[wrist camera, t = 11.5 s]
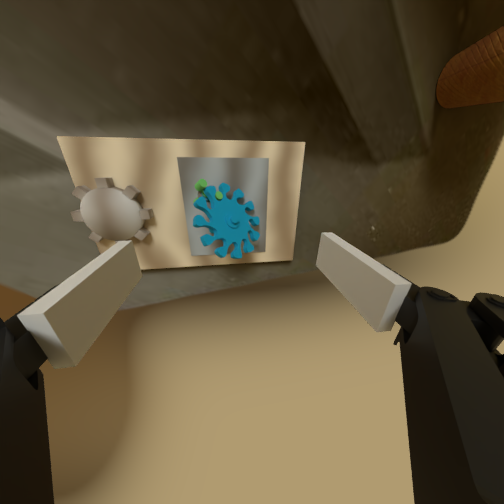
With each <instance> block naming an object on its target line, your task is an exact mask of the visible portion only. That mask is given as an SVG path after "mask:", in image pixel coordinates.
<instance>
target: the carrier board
mask: <svg viewBox="0 0 504 504" xmlns="http://www.w3.org/2000/svg"><path fill="white" fill-rule="evenodd" d="M57 139H58V142H59V144H60V147H61V150H62V152H63V155H64V158H65V160H66V163H67V166H68V169H69V171H70V174H71V177H72V179H73V182H74V185H75V187H76V188H75V189H74V191H73V192H72V194H73V195H74V196H76V197H77V198H79V199H80V201H81V205H80V210H76V211H73V212H71V215H72V217H73V220H74V222H76V221H84V222H85V223H86V225H87V226H88V227H89V228H90V229H91V230H92V233H91V235H90V236H89V237H88V238H90V239H92V240H93V241H95V242H96V244H97V246H98V249H99V252H100V255H101V254H102V253H104V252H105V251H106V250H108V249H109V248H110V247H112V246H113V245H115V244H116V243H117V242H119V241H130V240H132V242H133V245H134V248H135V252H136V255H137V259H138V262H139V266H140V269H141V270H142V269H158V268H174V267H190V266H206V265H222V264H238V263H254V262H270V261H286V260H293V251H294V242H295V232H296V223H297V214H298V204H299V195H300V186H301V176H302V167H303V158H304V149H305V142H279V141H236V140H194V139H151V138H109V137H66V136H57ZM200 179H204V180H206V182H207V186H215V188H216V192H217V191H219V189H218V187H219V185H220V184H221V183H226V184H228V185H229V186H230V191H228V192H227V193H226V197H227V198H228V199H229V200H231V199H232V197H233V192H234V191H235V190H237V189H238V188H239V189H240V190H241V191H242V192H243V193H244V197H242V198H241V199H239V200H237V202H238V204H240V205H244V204H245V203H247V202H249V201H252V202H253V205H254V209H253V210H251V211H246V210H245V212H246V213H247V214H248V215H250V216H252V217H255V216H258V217H259V220H260V222H259V225H257V226H252V225H251V223H250V222H249V224H250V226H251V227H252V229H253V230H255V231H257V232H259V234H260V237H259V239H258V240H257V241H252V240H251V239H250V235H249V233H248V238H249V241H250V243H251V244H252V245H253V246H254V250H253V251H252V252H248V253H244V251H243V246H244V242H243V241H242V242H241V252H242V258H240V259H233V258H231V256H230V254H231V252H232V251H233V250H234V248H235V247H234V244H231V245H230V246H229V247H228V250H227V255H226V256H225V257H223V258H220V257H218V256H217V255H216V254H215V253H214V251H215V249H216V248H219V247H223V241H222V240H214V241H213V243H212V244H211V245H208V246H203V244H202V242H201V239H200V237H201V236H203V235H205V234H209V235H211V236H214V233H210V231H209V228H206V227H199V228H196V227H194V226H193V219H194V217H195V216H196V215H201V216H203V217H204V219H205V220H206V221H207V222H209V218H208V217H207V215H206V214H205V213H204V212H203V211H201V210H199V209H197V208H195V207H194V205H193V204H194V203H193V201H194V200H195V199H196V198H197V197H198V195H197V194H198V191H197V190H196V189H195V184H196V183H197V182H198V181H199V180H200ZM207 186H206V187H207ZM206 187H205V188H206Z"/></svg>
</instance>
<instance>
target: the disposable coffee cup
mask: <svg viewBox="0 0 504 504" xmlns="http://www.w3.org/2000/svg"><path fill="white" fill-rule="evenodd" d="M436 96H437V100H438V102H439V104H440V105H441V106H442V107H444V108H448V109H449V108H457V107H464V106H472V105H480V104H488V103H496V102H503V101H504V26H502V27H500V28H499V29H497V30H496V31H494V32H492V33H490V34H489V35H487V36H486V37H484V38H482V39H481V40H479V41H477V42H476V43H474V44H473V45H471V46H469V47H468V48H466V49H464V50H463V51H461V52H459V53H458V54H456V55H455V56H454V57H452V58H451V59H450V60H449V61H448V63H447V64H446V66H445V67H444V68H443V70H442V72H441V74H440V77H439V79H438V83H437V88H436Z"/></svg>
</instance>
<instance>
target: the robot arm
mask: <svg viewBox="0 0 504 504" xmlns="http://www.w3.org/2000/svg"><path fill="white" fill-rule="evenodd" d="M316 266H317V267H318V268H319V269H320V270H321V271H322V273H323V274H324V275H325V276H326V277H327V278H328V279H329V280H330V281H331V282H332V284H334V286H335V287H336V288H337V289H338V290H339V291H340V292H341V293H342V295H343V296H344V297H345V298H346V299H347V300H348V301H349V302H350V303H351V305H352V306H353V307H354V308H355V309H356V310H357V311H358V312H359V313H360V314H361V315H362V317H363V318H364V319H365V320H366V321H367V322H368V323H369V324H370V326H371V327H372V328H373V329H374V330H375V331H376V332H383V331H391V329H392V327H393V325H394V322H395V321H396V322H397V323H398V324H399V325H400V326H401V328H400V330H399V333H398V335H397V337H396V339H395V341H394V345H397V343H398V342H400V351H401V362H402V372H403V383H404V394H405V405H406V415H407V426H408V437H409V448H410V459H411V470H412V480H413V492H414V502H415V504H504V354H503V355H502V354H500V353H499V352H498V351H497V350H496V348H497V347H498V346H499V344H500V343H501V342H502V341H503V340H504V297H502V296H501V297H500V296H499V295H495V294H489V293H477V294H476V295H475V296H474V298H473V299H472V301H471V302H468V301H460V300H458V299H457V298H456V297H455V296H454V295H452V294H450V293H448V292H446V291H443V290H440V289H437V288H433V287H421V288H420V287H418V286H417V285H415V284H413V283H412V282H410V281H409V280H407V279H406V278H404V277H403V276H401V275H398V273H396V272H395V271H392V270H391V269H390V268H388V267H387V266H385V265H383V264H381V263H379V262H377V261H376V260H374V259H372V258H371V257H369V256H368V255H366V254H365V253H363V252H361V251H360V250H358V249H357V248H355V247H354V246H352V245H350V244H349V243H347V242H346V241H344V240H343V239H341V238H339V237H338V236H336V235H335V234H333V233H332V232H328V233H322V234H321V239H320V245H319V251H318V257H317V262H316ZM141 278H142V273H141V269H140V266H139V262H138V259H137V255H136V252H135V248H134V245H133V242H132V240H130V241H119V242H117V243H116V244H115V245H113V246H112V247H110V248H109V249H108V250H106V251H105V252H104V253H102V254H101V255H99V256H98V257H97V258H95V259H94V260H93V261H91V262H90V263H88V264H87V265H86V266H84V267H83V268H82V269H80V270H79V271H77V272H76V273H75V274H73V275H72V276H71V277H69V278H68V279H66V280H65V281H64V282H62V283H61V284H59V285H57V286H55V287H53V288H51V289H50V290H49V291H47V292H46V293H44V294H43V296H40V297H39V298H37V299H36V300H35V302H32V303H31V304H29V305H28V306H26V307H25V308H23V309H22V310H21V311H19V312H18V313H16V314H15V315H14V316H12V317H11V318H10V319H8V320H7V321H5V322H3V320H2V319H1V318H0V504H54V496H53V484H52V474H51V473H52V472H51V461H50V449H49V437H48V425H47V414H46V402H45V390H44V378H43V374H42V372H41V370H40V369H39V367H40V366H41V365H42V364H43V363H44V362H45V361H46V360H47V359H48V360H49V362H50V363H51V365H52V366H53V367H54V369H57V368H66V367H75V366H77V364H78V363H79V362H80V360H81V359H82V358H83V356H84V355H85V354H86V352H87V351H88V349H89V348H90V347H91V345H92V344H93V342H94V341H95V340H96V339H97V337H98V336H99V335H100V333H101V332H102V330H103V329H104V328H105V326H106V325H107V324H108V322H109V321H110V320H111V318H112V317H113V315H114V314H115V313H116V311H117V310H118V309H119V307H120V306H121V305H122V303H123V302H124V301H125V299H126V298H127V297H128V295H129V294H130V292H131V291H132V290H133V288H134V287H135V286H136V284H137V283H138V282H139V280H140V279H141Z"/></svg>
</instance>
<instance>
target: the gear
mask: <svg viewBox="0 0 504 504" xmlns="http://www.w3.org/2000/svg"><path fill="white" fill-rule="evenodd" d="M206 186H207V182H206V180H204V179H200V180H199V181H198V182H197V183H196V184H195V189H196V190H197V191H198V194H197V195H198V197H197V198H196V199H195V200H194V201H193V203H194V204H193V205H194V207H195V208H197V209H199V210H201V211H203V212H204V213H205V214H206V215H207V217H208V218H209V222H207V221H206V220H205V219H204V217H203V216H201V215H196V216H195V217H194V219H193V226H194V227H196V228H199V227H206V228H209V231H210V233H214V236H211V235H209V234H205V235H203V236H201V237H200V239H201V242H202V244H203V246H208V245H211V244H212V243H213V241H214V240H222V241H223V247H219V248H216V249H215V251H214V253H215V254H216V255H217V256H218V257H220V258H223V257H225V256H226V255H227V250H228V247H229V246H230V245H231V244H234V247H235V248H234V250H233V251H232V252H231V254H230V256H231V258H233V259H240V258H242V252H241V242H242V241H243V242H244V246H243V251H244V253H248V252H252V251H253V250H254V246H253V245H252V244H251V243H250V241H249V238H248V233H249V235H250V239H251V240H252V241H257V240H258V239H259V237H260V234H259V232H257V231H255V230H253V229H252V227H251V226H250V224H249V222H250V223H251V225H252V226H257V225H259V222H260V220H259V217H258V216H255V217H252V216H250V215H248V214H247V213H246V212H245V210H246V211H251V210H253V209H254V205H253V202H252V201H249V202H247V203H245V204H244V205H240V204H238V202H237V200H239V199H241V198H242V197H244V193H243V192H242V191H241V190H240V189H239V188H238V189H237V190H235V191H234V192H233V197H232V199H231V200H229V199H228V198H227V197H226V193H227V192H228V191H230V186H229V185H228V184H226V183H221V184H220V185H219V187H218V189H219V191H217V192H216V188H215V186H207V187H206ZM205 187H206V188H205Z"/></svg>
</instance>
